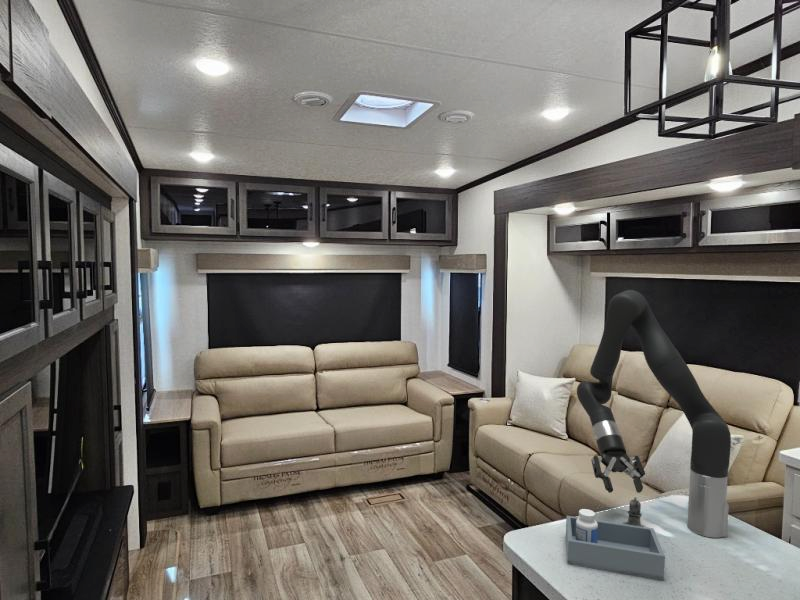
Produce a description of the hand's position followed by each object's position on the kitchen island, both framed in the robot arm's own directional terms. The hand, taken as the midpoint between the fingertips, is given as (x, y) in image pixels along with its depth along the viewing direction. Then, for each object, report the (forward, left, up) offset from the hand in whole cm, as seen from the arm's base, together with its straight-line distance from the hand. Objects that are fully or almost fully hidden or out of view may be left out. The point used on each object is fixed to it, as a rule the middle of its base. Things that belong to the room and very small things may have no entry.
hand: (625, 491), depth 145 cm
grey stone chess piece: (-2, +5, -11) cm, 13 cm away
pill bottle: (+11, +16, -10) cm, 22 cm away
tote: (+5, +16, -11) cm, 21 cm away
